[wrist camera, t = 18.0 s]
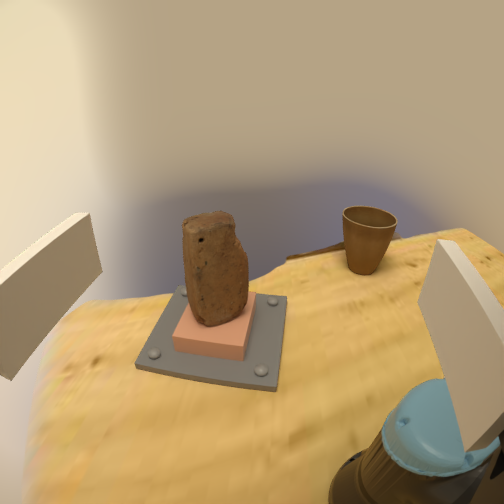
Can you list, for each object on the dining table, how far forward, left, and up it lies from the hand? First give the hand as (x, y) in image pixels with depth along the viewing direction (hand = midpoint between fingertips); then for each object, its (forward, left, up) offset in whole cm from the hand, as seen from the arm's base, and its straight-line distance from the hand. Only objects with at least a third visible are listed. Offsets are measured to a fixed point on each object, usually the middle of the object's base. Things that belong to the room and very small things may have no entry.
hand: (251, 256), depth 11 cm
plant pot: (-21, -68, -40) cm, 81 cm away
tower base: (+12, -37, -40) cm, 56 cm away
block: (+12, -37, -35) cm, 52 cm away
